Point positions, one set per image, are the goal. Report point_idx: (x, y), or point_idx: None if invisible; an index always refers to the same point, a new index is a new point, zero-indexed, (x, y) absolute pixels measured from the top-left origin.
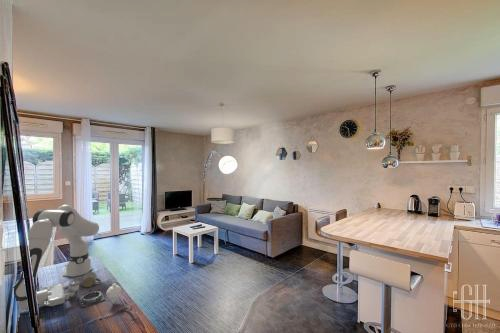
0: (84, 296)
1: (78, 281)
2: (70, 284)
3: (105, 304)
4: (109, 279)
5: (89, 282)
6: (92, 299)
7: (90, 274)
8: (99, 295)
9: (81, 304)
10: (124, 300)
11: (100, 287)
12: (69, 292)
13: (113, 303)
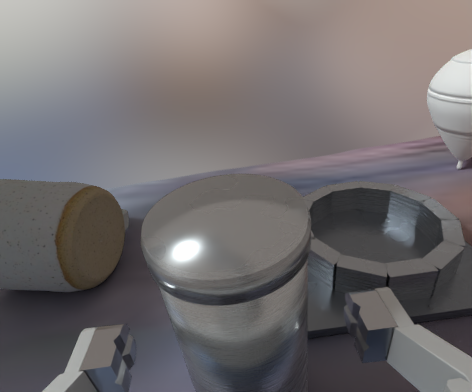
0: (363, 260)
1: (231, 179)
2: (284, 251)
3: (465, 191)
4: (113, 192)
5: (103, 233)
6: (449, 213)
7: (30, 185)
8: (387, 186)
9: (468, 300)
10: (428, 146)
11: None
12: (277, 376)
13: (460, 167)
